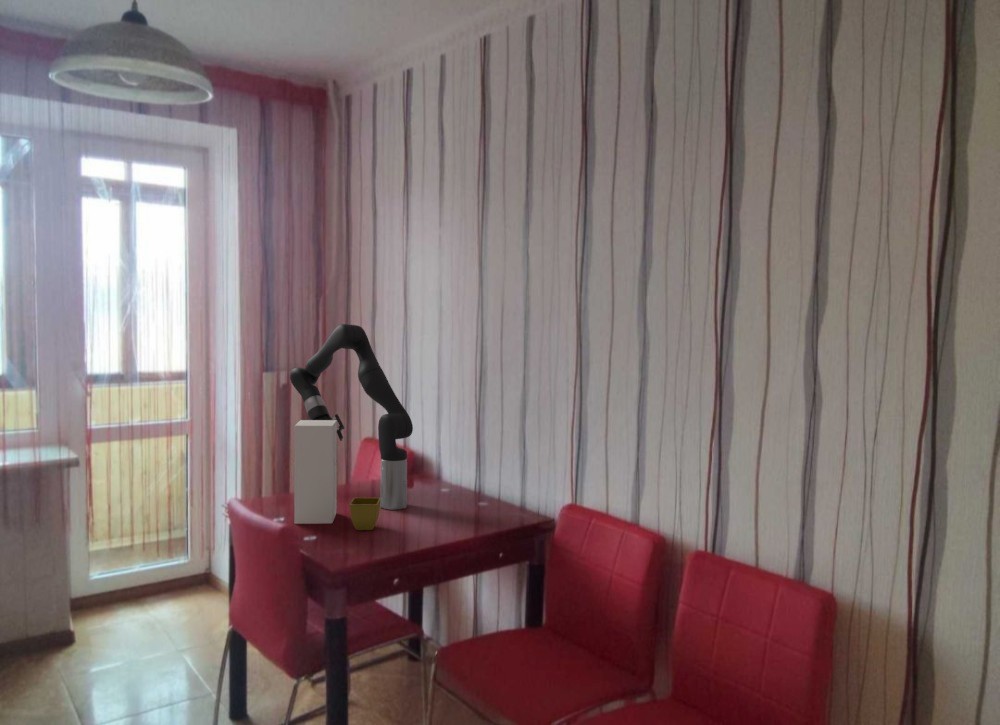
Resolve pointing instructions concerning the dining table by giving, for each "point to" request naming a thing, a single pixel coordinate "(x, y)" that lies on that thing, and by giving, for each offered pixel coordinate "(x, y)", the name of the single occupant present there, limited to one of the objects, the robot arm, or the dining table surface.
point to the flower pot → (364, 512)
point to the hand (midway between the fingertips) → (330, 444)
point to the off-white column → (315, 471)
